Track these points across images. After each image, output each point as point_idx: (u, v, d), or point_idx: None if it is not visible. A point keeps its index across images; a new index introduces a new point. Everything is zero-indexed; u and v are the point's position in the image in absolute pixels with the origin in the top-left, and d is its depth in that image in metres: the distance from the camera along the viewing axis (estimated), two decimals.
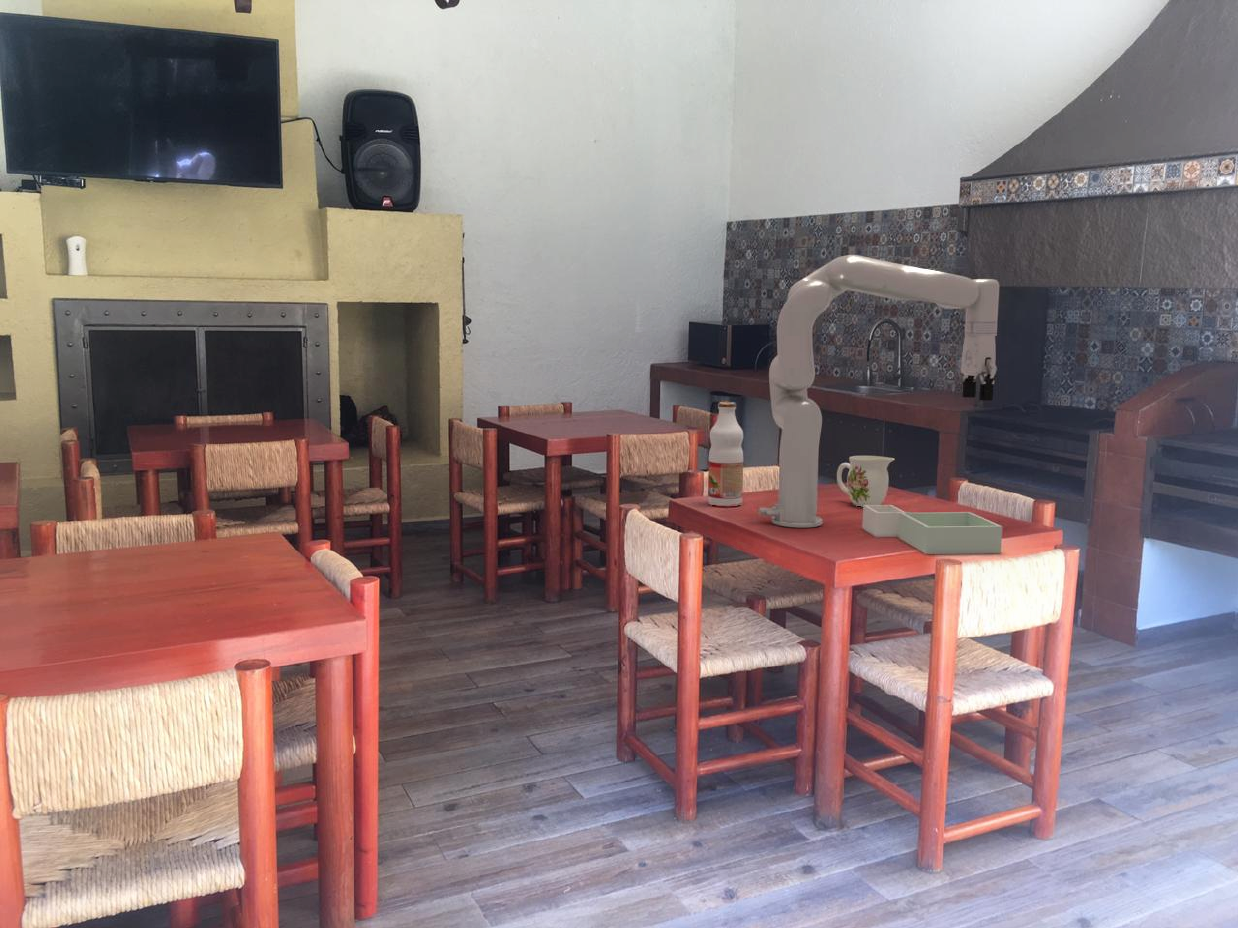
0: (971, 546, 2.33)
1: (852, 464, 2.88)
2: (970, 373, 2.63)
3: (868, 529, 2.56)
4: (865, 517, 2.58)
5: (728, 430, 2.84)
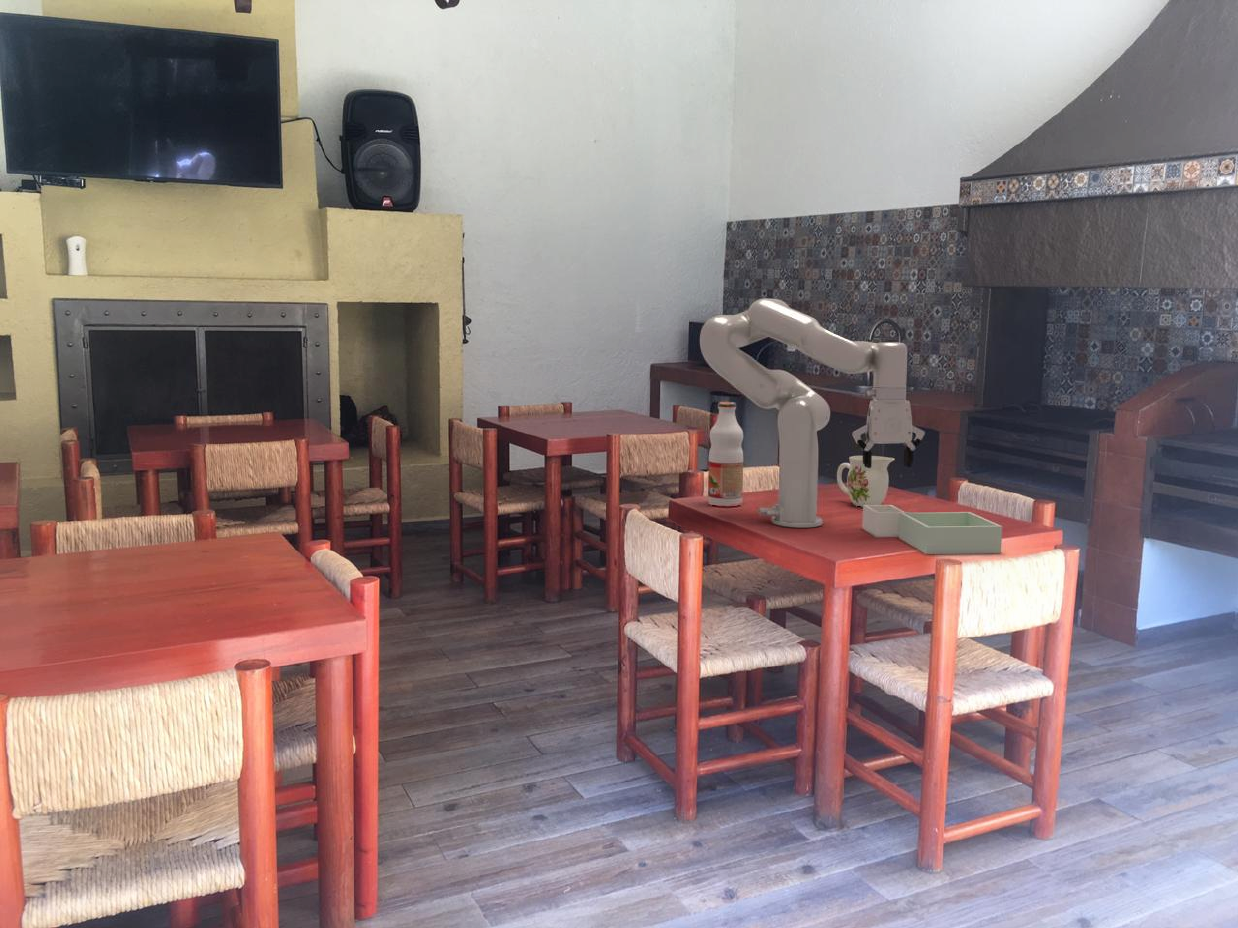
0: (971, 546, 2.33)
1: (852, 464, 2.88)
2: (898, 441, 2.50)
3: (868, 529, 2.56)
4: (865, 517, 2.58)
5: (728, 430, 2.84)
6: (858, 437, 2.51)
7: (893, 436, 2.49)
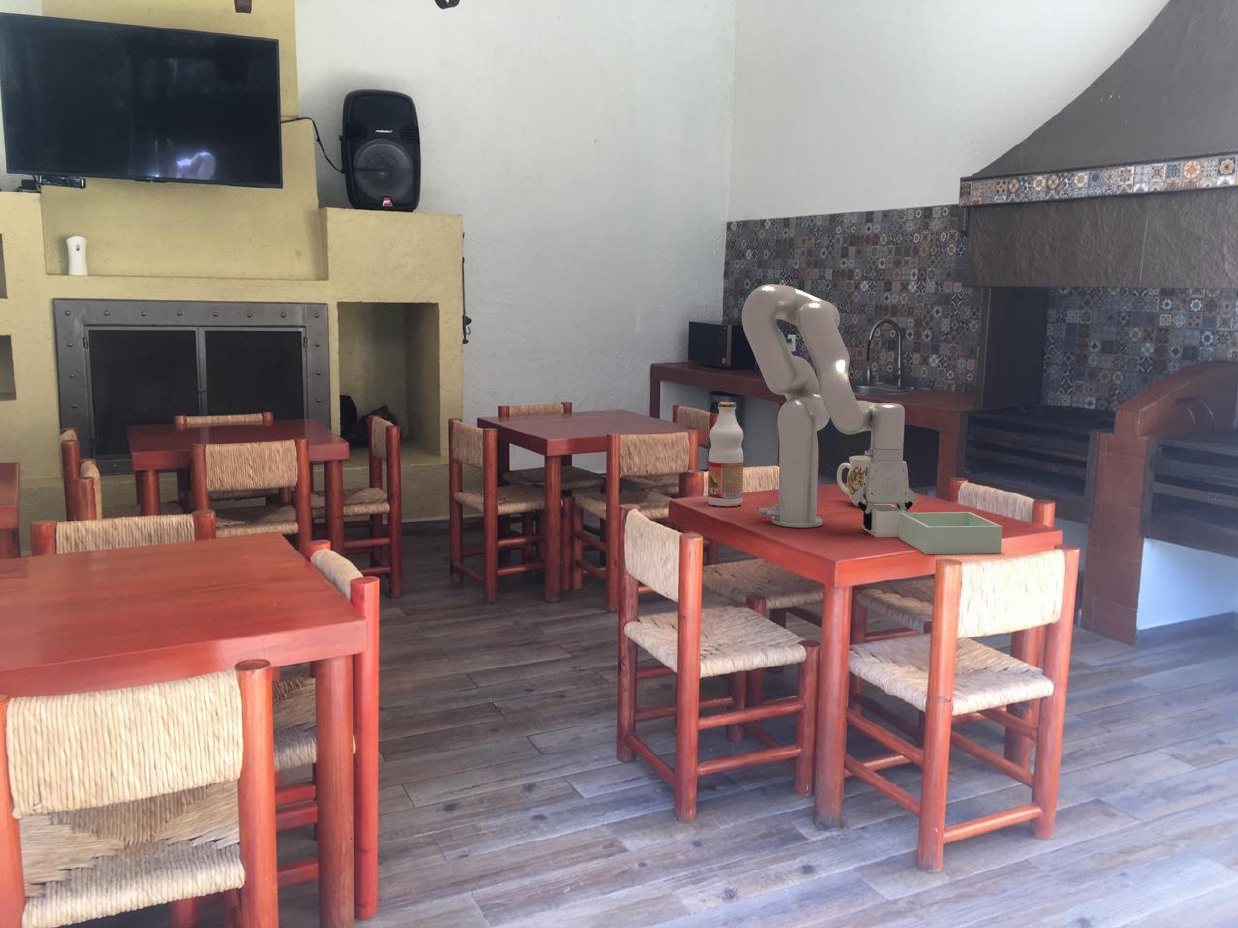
0: (971, 546, 2.33)
1: (852, 464, 2.88)
2: (895, 501, 2.52)
3: None
4: None
5: (728, 430, 2.84)
6: (857, 500, 2.53)
7: (889, 496, 2.52)
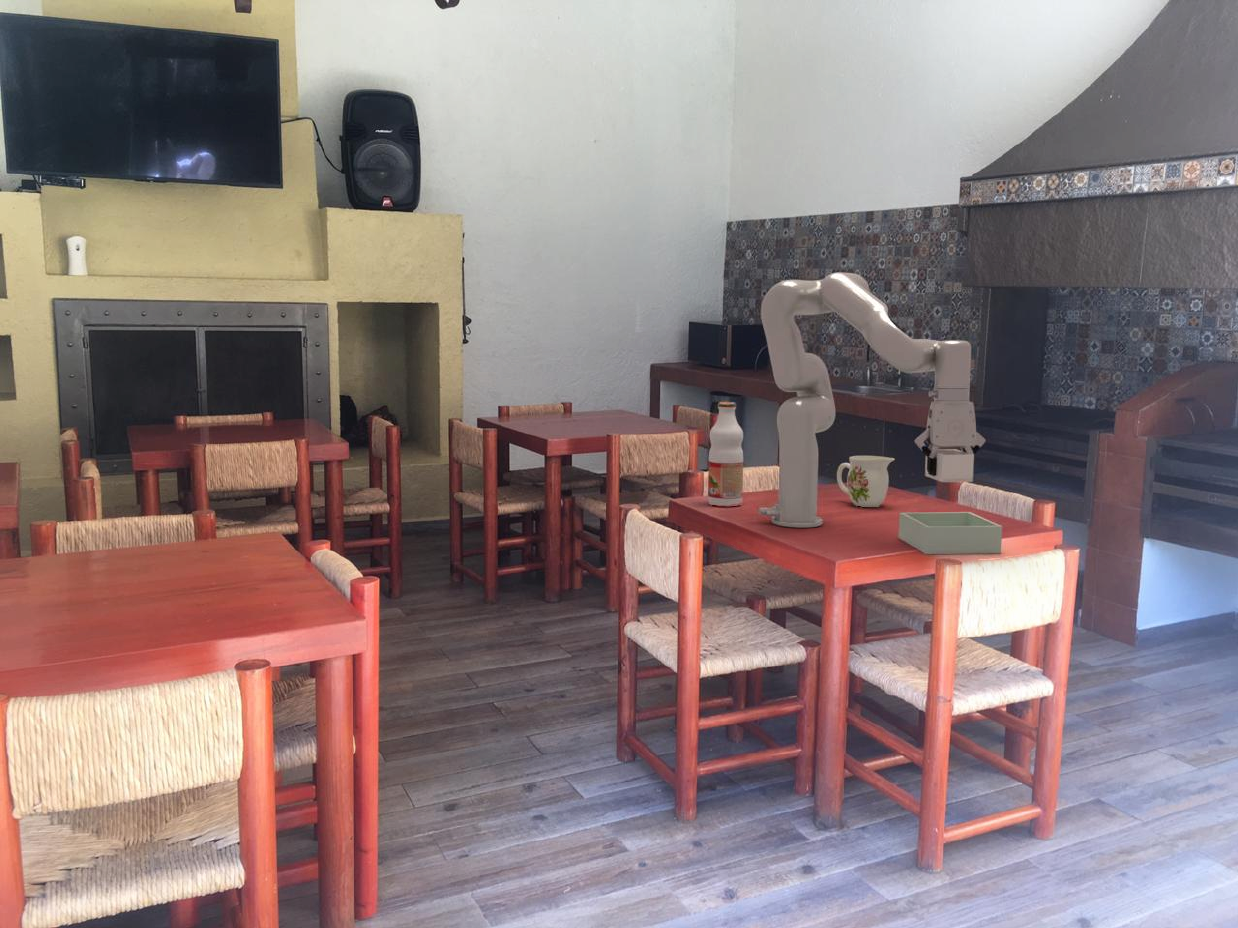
0: (971, 546, 2.33)
1: (852, 464, 2.88)
2: (961, 444, 2.37)
3: None
4: None
5: (728, 430, 2.84)
6: (921, 444, 2.38)
7: (956, 439, 2.36)
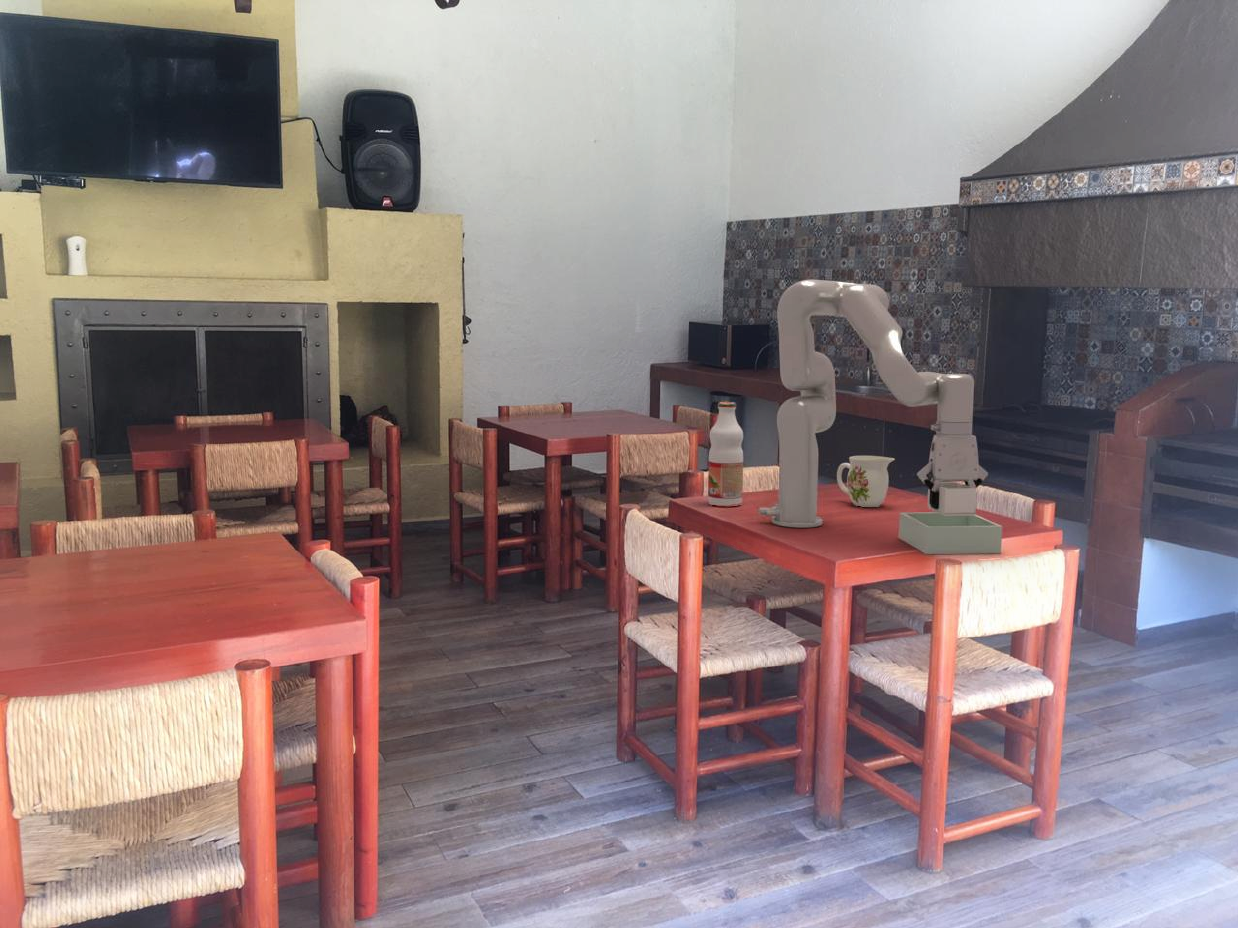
0: (971, 546, 2.33)
1: (852, 464, 2.88)
2: (964, 478, 2.37)
3: None
4: None
5: (728, 430, 2.84)
6: (924, 477, 2.38)
7: (958, 473, 2.36)
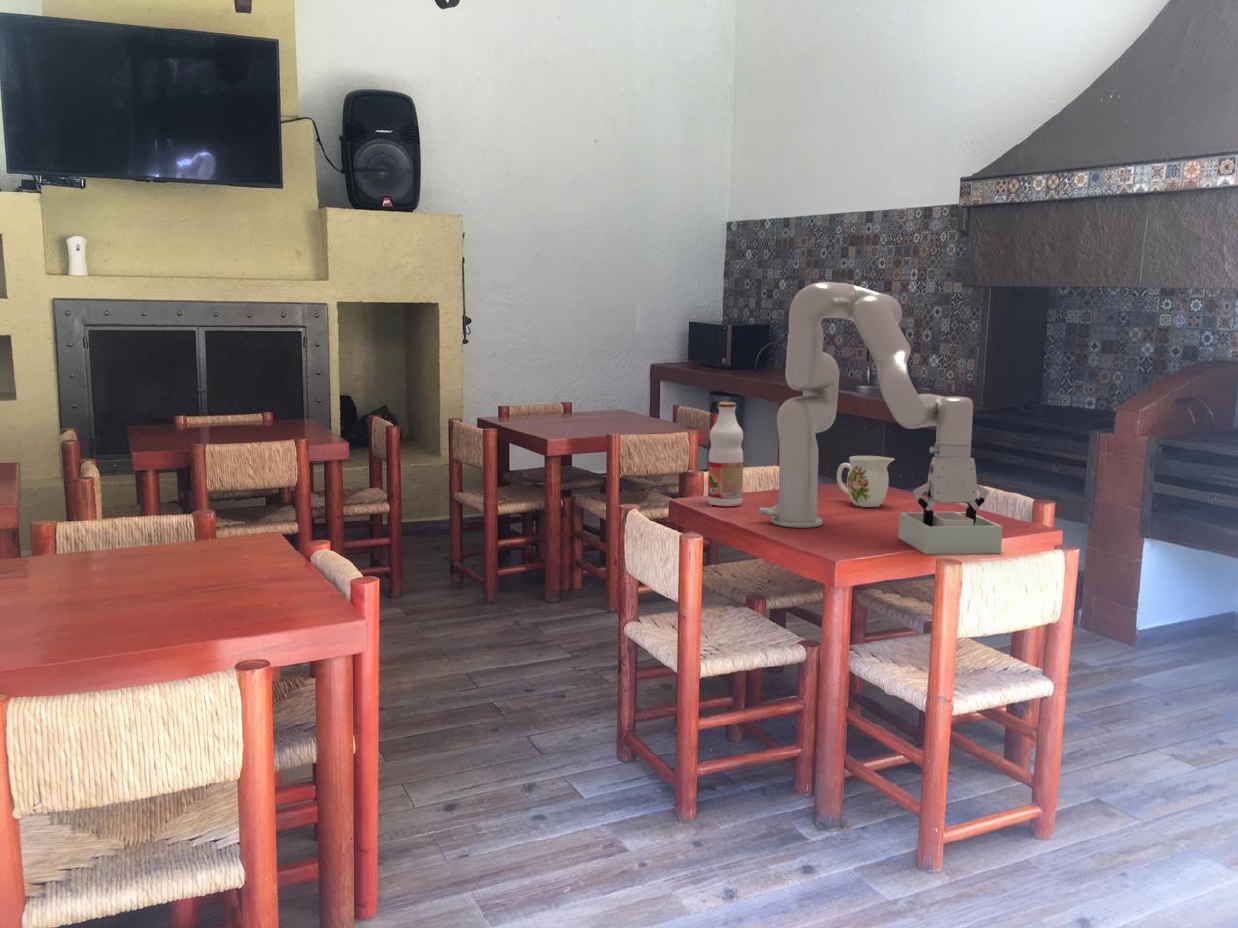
0: (971, 546, 2.33)
1: (852, 464, 2.88)
2: (962, 500, 2.38)
3: None
4: None
5: (728, 430, 2.84)
6: (919, 496, 2.39)
7: (956, 495, 2.37)
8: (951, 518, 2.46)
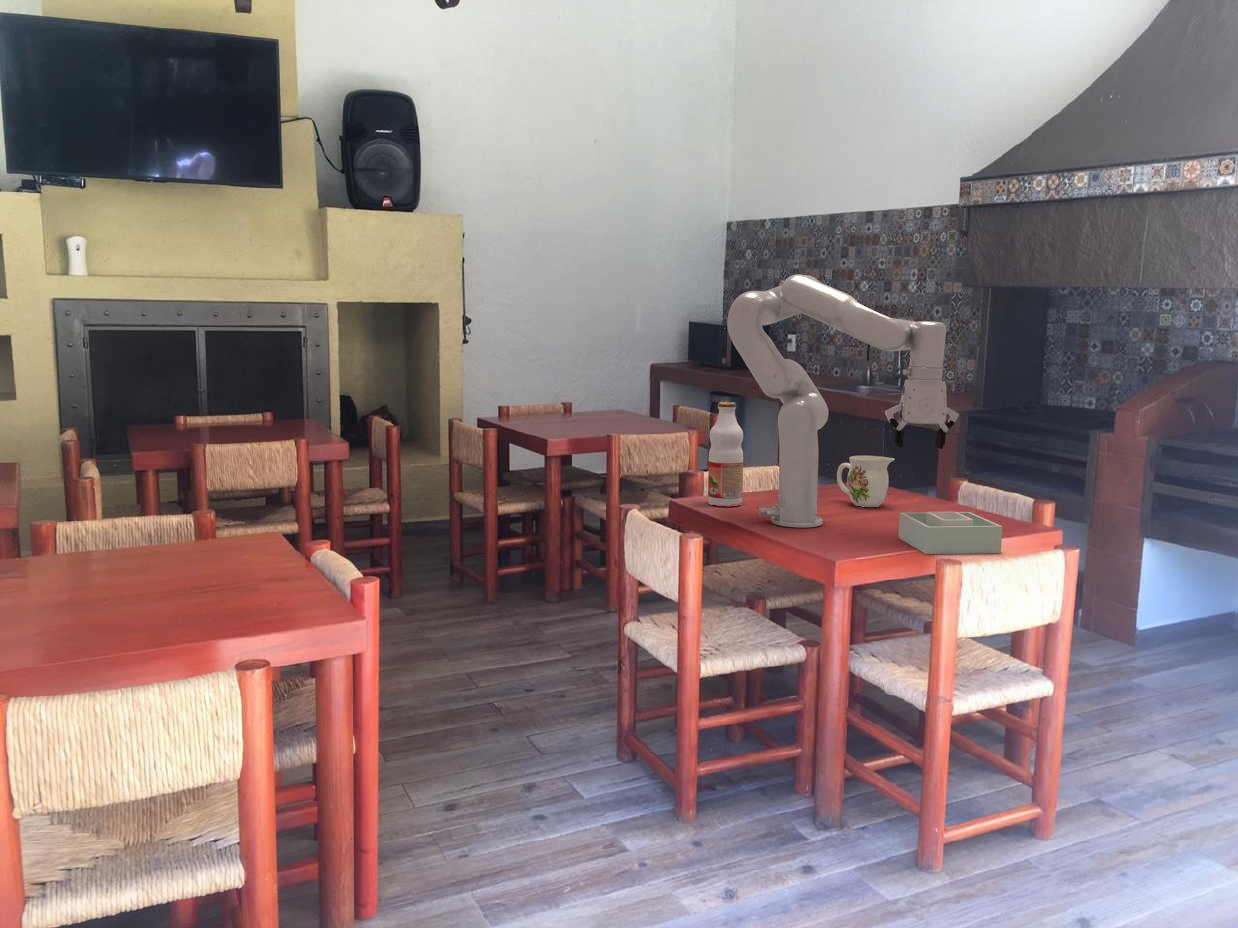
0: (971, 546, 2.33)
1: (852, 464, 2.88)
2: (931, 422, 2.47)
3: None
4: (928, 525, 2.44)
5: (728, 430, 2.84)
6: (890, 416, 2.48)
7: (926, 416, 2.47)
8: (951, 518, 2.46)
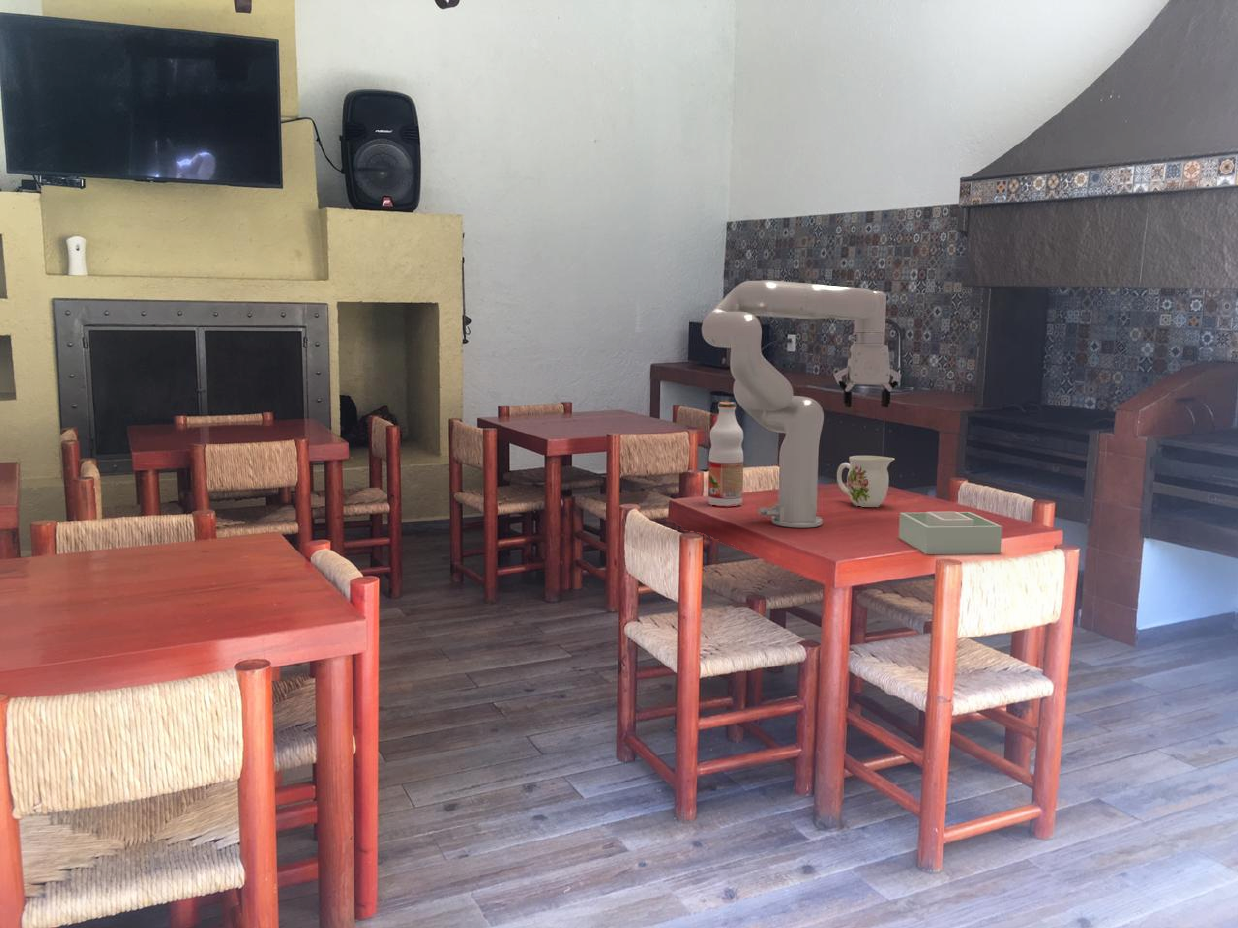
0: (971, 546, 2.33)
1: (852, 464, 2.88)
2: (876, 382, 2.70)
3: None
4: (928, 525, 2.44)
5: (728, 430, 2.84)
6: (839, 378, 2.71)
7: (872, 378, 2.70)
8: (951, 518, 2.46)
